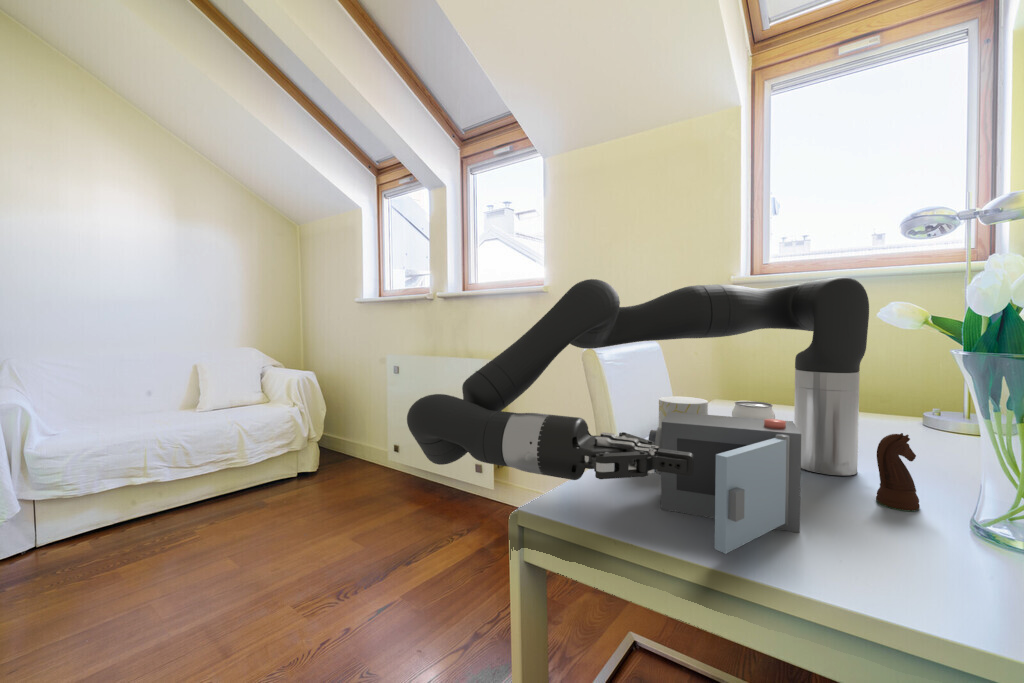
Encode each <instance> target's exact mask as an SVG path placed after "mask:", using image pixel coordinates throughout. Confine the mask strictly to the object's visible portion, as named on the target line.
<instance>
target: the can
mask: <svg viewBox="0 0 1024 683" xmlns="http://www.w3.org/2000/svg"><path fill="white" fill-rule="evenodd" d="M731 417H743V418H756V419H776V413H775V411H774V410H773V404H772V403H768V402H763V401H762V402H761V401H756V400H755V401H754V400H753V401H752V400H738V401H734V407H733V409H732V410H731Z"/></svg>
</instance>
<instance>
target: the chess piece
mask: <svg viewBox="0 0 1024 683" xmlns="http://www.w3.org/2000/svg"><path fill="white" fill-rule="evenodd" d="M910 440H911V438H910V437H909V434H905V435H904V433H902V432H901V433H891V434H888V435H885V436H884V437H883V438H881V440H880V441H879V442H878V445H877V448H876V461H877V462H876V463H877V468H878V472H879V473H878V474H879V482H880V483H879V487H878V489H877V490H876V491H877V492H876V496H875V501H876V502H877V504H879V505H881V506H883V507H887V508H889V509H892V510H896V511H904V512H917V511H919V510H920V508H921V507H920V506H921V505H920V499H919V496H918V495H917V488H916V484H915V481H914V480H913V477H912V474H911V473H910V471H909V470H908V468H907V466H906V464H905V463H904V462H903V460H902V458H901V457H903V458H905V459H907V461H909V462H913V461H915V459H916V457H917V455H916V454H915V452H914V451H913V450H912V448H911V447H910V444H909V443H908V442H909V441H910Z"/></svg>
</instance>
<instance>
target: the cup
mask: <svg viewBox="0 0 1024 683" xmlns="http://www.w3.org/2000/svg"><path fill="white" fill-rule="evenodd" d="M668 412H678V413H691V414H704V415H709V400H706V399H704V398H699V397H693V396H692V397H691V396H678V395H677V396H676V395H675V396H662V397H659V398H658V427H662V420H663V419H664V418H665V416H666V415H667V413H668Z"/></svg>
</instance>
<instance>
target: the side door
mask: <svg viewBox="0 0 1024 683" xmlns="http://www.w3.org/2000/svg"><path fill="white" fill-rule="evenodd" d="M788 494H789V436H788V435H782V434H777V435H776V438H773V439H769V440H766V441H762V442H758V443H755V444H751V445H748V446H744V447H741V448H737V449H734V450H730V451H726V452H723V453H719V454H716V476H715V518H714V549H715V550H717V551H718V552H721V553H723V554H725V555H726V554H728V553H730V552H732V551H734V550H736V549H739V548H740V547H741V546H743V545H746V544H747V543H749V542H751V541H753V540H756V539H757V538H759V537H761V536H763V535H765V534H767V533H769V532H771V531H772V530H775V528H777V527H779V526H781V525H782V526H787V525H788Z"/></svg>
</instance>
